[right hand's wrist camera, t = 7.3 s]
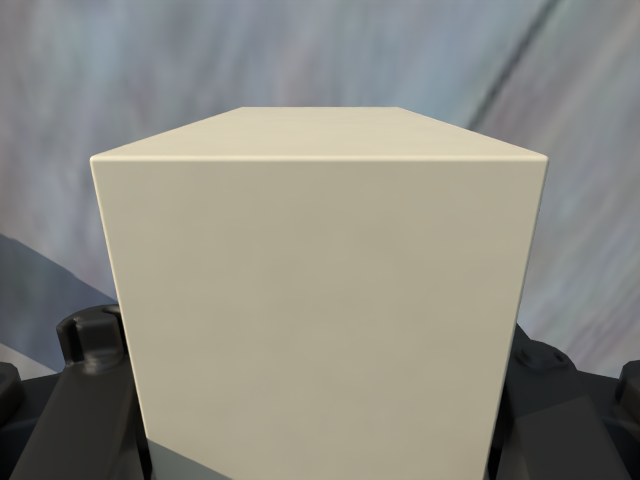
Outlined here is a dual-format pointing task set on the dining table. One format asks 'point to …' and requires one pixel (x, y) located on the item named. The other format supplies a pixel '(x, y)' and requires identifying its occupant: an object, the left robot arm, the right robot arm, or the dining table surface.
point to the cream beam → (319, 290)
